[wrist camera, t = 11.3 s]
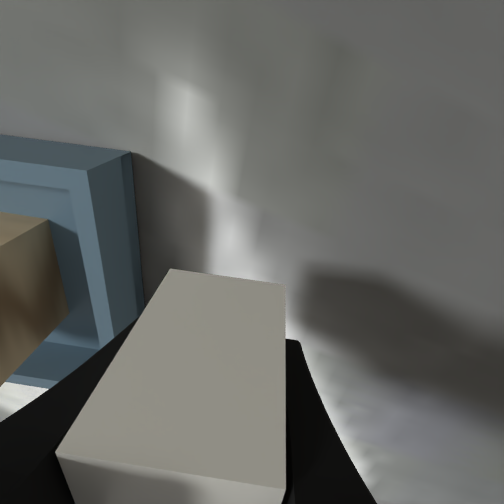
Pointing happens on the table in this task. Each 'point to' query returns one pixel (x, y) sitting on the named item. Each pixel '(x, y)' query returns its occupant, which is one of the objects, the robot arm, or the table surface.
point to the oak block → (27, 289)
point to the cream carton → (189, 401)
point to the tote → (78, 244)
